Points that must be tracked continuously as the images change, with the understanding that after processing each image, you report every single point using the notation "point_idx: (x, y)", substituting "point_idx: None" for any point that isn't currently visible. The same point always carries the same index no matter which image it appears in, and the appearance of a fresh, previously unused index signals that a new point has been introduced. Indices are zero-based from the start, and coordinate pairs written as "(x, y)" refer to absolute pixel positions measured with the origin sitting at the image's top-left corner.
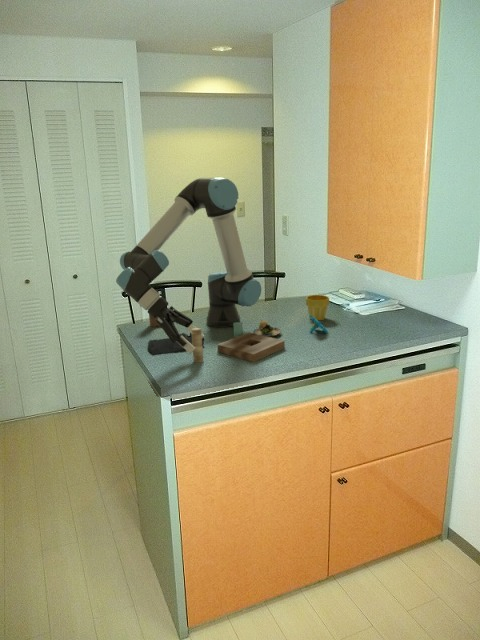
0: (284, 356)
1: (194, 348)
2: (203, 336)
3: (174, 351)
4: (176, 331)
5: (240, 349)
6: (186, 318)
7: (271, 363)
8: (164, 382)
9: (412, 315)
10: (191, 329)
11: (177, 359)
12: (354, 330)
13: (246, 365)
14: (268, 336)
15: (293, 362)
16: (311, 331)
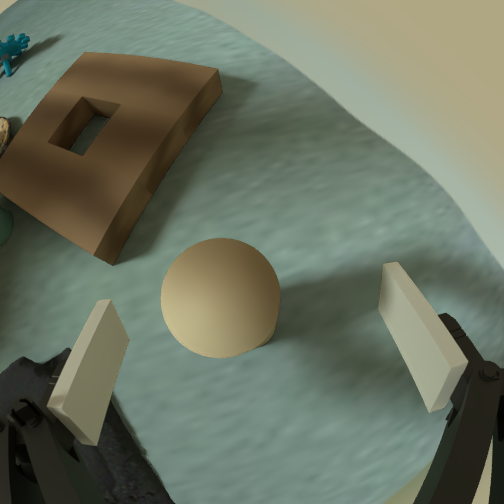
0: (162, 45)
1: (398, 264)
2: (111, 304)
3: (152, 482)
4: (486, 419)
5: (162, 124)
6: (11, 465)
7: (226, 52)
8: (501, 355)
9: (2, 16)
10: (224, 356)
11: (245, 441)
12: (27, 28)
13: (260, 103)
14: (10, 133)
15: (210, 20)
16: (10, 70)
